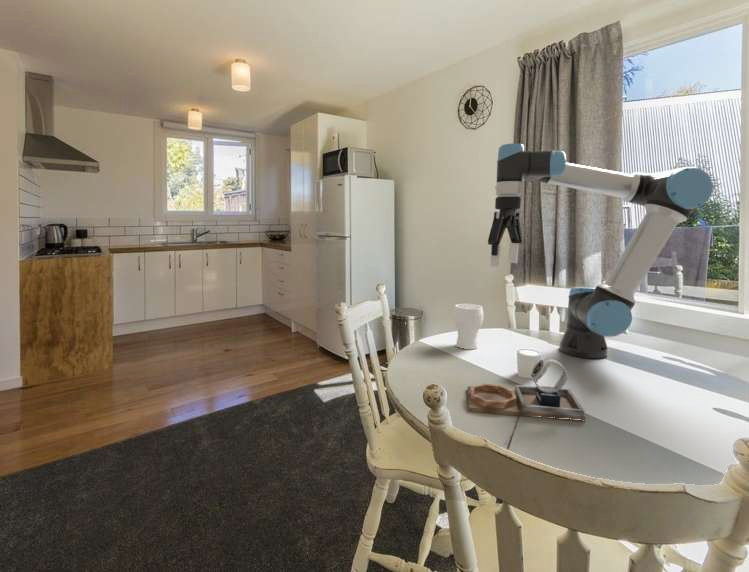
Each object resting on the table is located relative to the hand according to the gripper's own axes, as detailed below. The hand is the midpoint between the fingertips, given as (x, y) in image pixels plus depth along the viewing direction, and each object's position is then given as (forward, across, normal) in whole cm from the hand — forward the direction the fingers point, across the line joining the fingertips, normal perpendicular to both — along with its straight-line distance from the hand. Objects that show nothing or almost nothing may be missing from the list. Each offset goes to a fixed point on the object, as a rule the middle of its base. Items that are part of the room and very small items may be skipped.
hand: (504, 264), depth 131 cm
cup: (+32, -6, -15) cm, 36 cm away
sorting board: (+32, +28, +18) cm, 46 cm away
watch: (+31, +25, +24) cm, 46 cm away
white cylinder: (+32, +7, +12) cm, 35 cm away
